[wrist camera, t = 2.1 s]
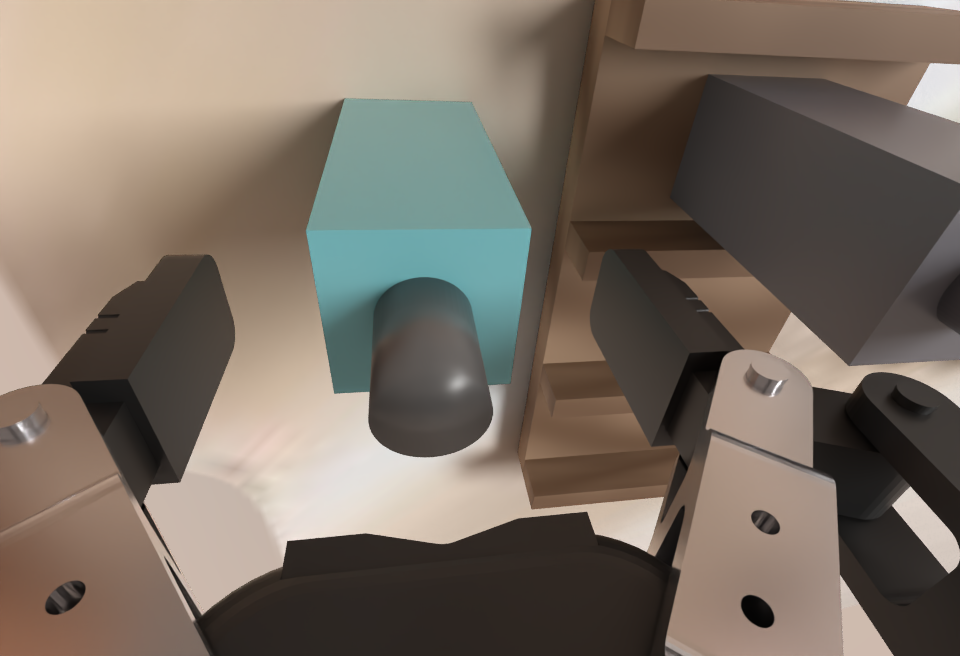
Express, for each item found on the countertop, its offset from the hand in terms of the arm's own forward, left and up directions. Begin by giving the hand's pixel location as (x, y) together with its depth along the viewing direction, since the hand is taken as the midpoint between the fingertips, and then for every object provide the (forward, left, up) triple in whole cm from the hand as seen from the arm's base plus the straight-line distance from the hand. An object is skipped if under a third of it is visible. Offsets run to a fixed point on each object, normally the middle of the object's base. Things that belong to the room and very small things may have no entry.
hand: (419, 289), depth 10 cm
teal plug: (0, 0, -6) cm, 6 cm away
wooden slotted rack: (+5, +10, -6) cm, 13 cm away
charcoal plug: (-2, +10, -5) cm, 11 cm away
